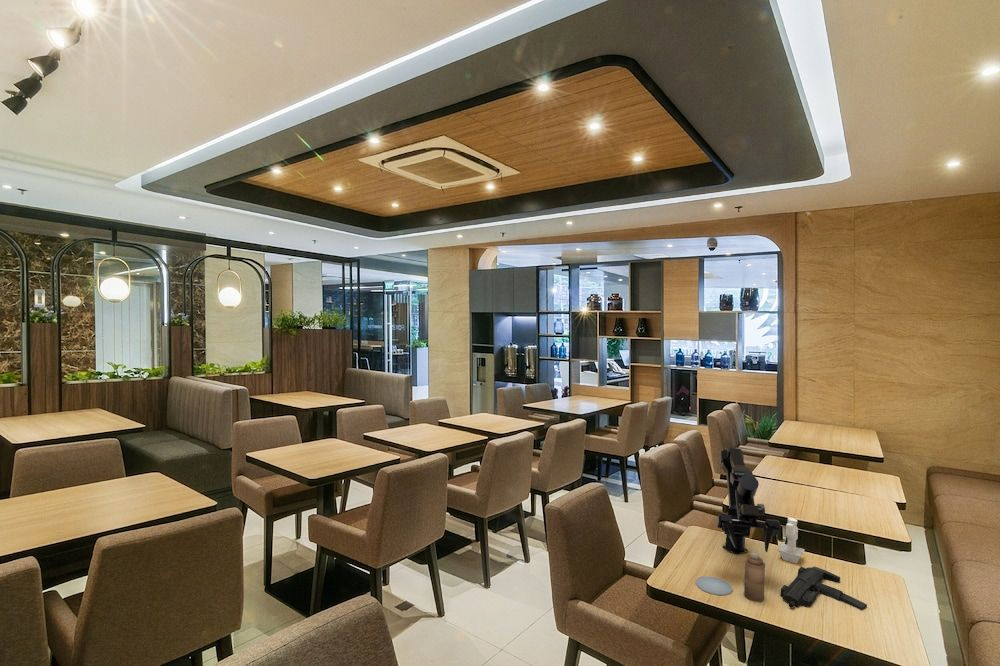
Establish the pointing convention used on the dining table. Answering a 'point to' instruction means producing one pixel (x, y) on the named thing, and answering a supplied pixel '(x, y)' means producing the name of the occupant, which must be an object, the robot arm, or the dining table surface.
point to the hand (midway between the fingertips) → (751, 549)
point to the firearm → (815, 589)
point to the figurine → (791, 543)
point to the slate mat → (713, 585)
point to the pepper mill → (754, 578)
